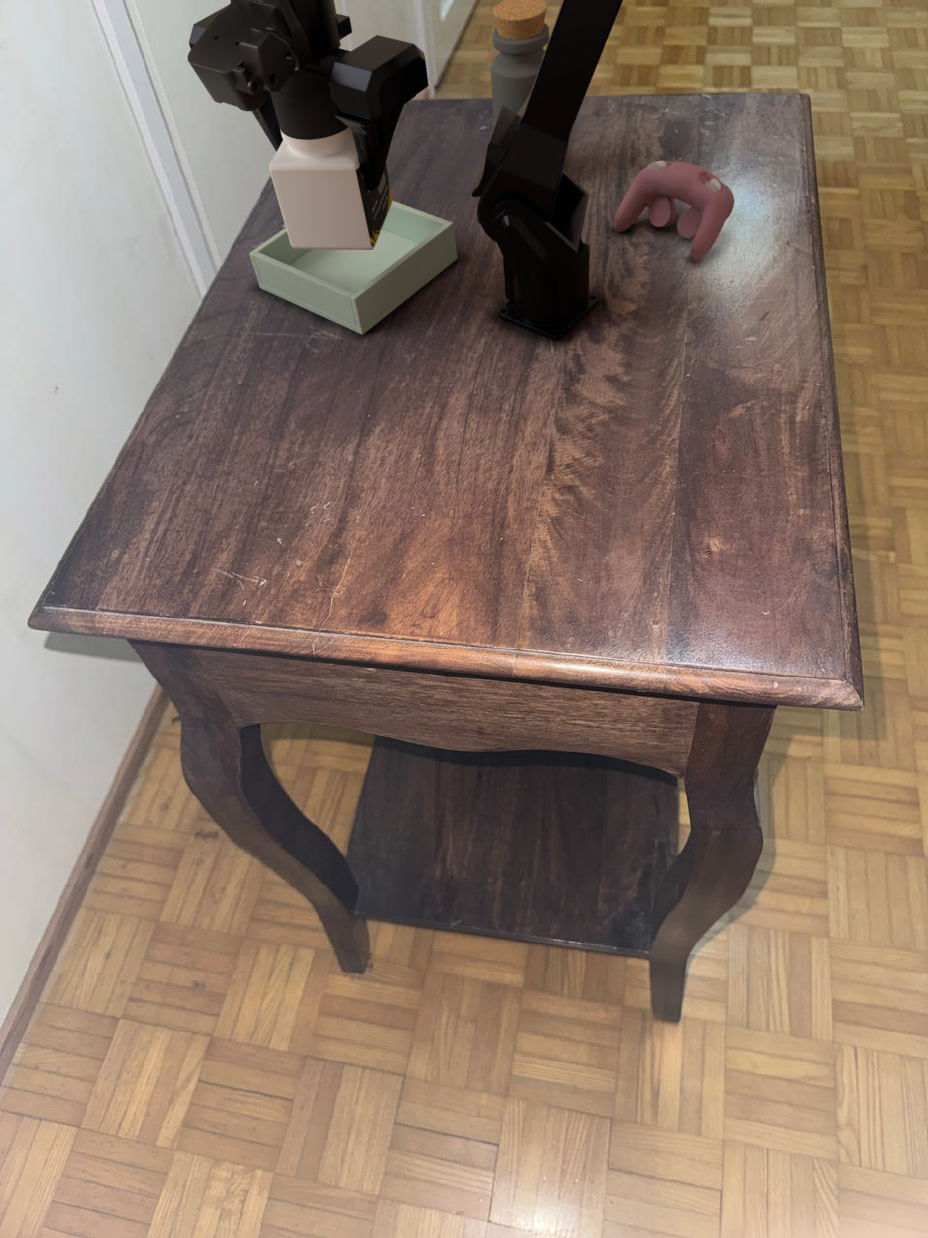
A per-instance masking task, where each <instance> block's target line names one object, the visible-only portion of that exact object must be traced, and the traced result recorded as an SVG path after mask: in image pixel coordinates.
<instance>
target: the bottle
mask: <svg viewBox="0 0 928 1238" xmlns="http://www.w3.org/2000/svg"><path fill="white" fill-rule="evenodd" d="M492 14H493V18H494V22H495V26H496V27H495V28H494V30H493V32H492V33H491V35H492V46H493V47H494V49H495V50H496V51H498V52H499V53H498V54H497V55H496V56H495V57H494V58H493V60H492V61H491V63H490V83H491V84H490V85H491V99H492V113H493V117H492V118H493V126H494V125H495V122H496V119H497V116H498V113H499V110H500V107H501V106H505V107H506V108H508V109H509V110H511V111H513V112H514V113H516V114H517V113H518V112H519V110H520V109H521V107H522V106H523V104H524V103H525V101H526V100H527V98H528V96H529V94H530V92H531V90H532V87H533V84H534V81H535V78H536V75H537V73H538V70H539V67H540V64H541V61H542V58H543V55H544V52H545V49H544V47H545V46H547V44H548V41H549V38H550V28H549V25H548V24H547V23H545V22H546V21H545V20H546V19H545V18H546V16H547V15H546V14H547V4H546V2H545V1H544V0H503V1H501V2H499V3H498V4H496V5H495V6H494V7H493V10H492Z"/></svg>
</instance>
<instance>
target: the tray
mask: <svg viewBox="0 0 928 1238" xmlns="http://www.w3.org/2000/svg"><path fill="white" fill-rule="evenodd" d="M457 251H458V250H457V241H456V233H455V223H454V222H453V221H450V220H447V219H444V218H441V217H439V216H437V215H433V214H431V213H429V212H425V211H422V210H420V209H416V208H415V207H412V206H408V205H406V204H403V203H400V202H398V201H395V200H393V201H392V205H391V207H390V210H389V212H388V215H387V217H386V220H385V222H384V225H383V227H382V230H381V232H380V235H379V237H378V240H377V242H376V245H375V247H374V248H373V249H372V250H332V249H294V248H292V246H291V243H290V240H289V236H288V233H287V229H286V227H285V228H283V229H282V230H280V231H279V232H277V233H276V234H274V235H273V236H271V237H270V238H268V239H267V240H265V241H264V242H263V243H262V244H260V245H258V247H256V248H254V249H253V250H251V251H250V252H249V253H248V254H249V257H250V261H251V264H252V268H253V271H254V273H255V274H254V275H255V277H256V280H257V282H258V283H257V284H258V287H259V289H261V290H264V291H266V292H268V293H270V294H272V295H274V296H277V297H278V298H281V299H283V300H285V301H287V302H290V303H292V304H294V305H296V306H298V307H301V308H303V309H305V310H307V311H310V312H312V313H313V314H316V315H318V316H321V317H322V318H324V319H327V320H329V321H331V322H333V323H336V324H338V325H339V326H342V327H345V328H346V329H349V330H351V331H353V332H355V333H357V334H360V335H361V336H362V335H364V334H366V333H367V332H368V331H369V330H371V329H372V328H373V327H374V326H376V325H377V324H378V323H379V322H381V321H382V320H383V319H384V318H386V317H387V316H388V315H389V314H391V313H392V312H393V311H394V310H396V309H397V308H398V307H399V306H400V305H402V304H403V303H404V302H405V301H407V300H408V299H409V298H411V297H412V296H413V295H414V294H416V293H417V292H418V291H419V290H420V289H422V288H423V287H424V286H425V285H427V284H428V283H429V282H430V281H432V280H433V279H434V278H435V277H437V276H438V275H439V274H441V273H442V272H443V271H444V270H445V269H447V268H448V267H449V266H450V265H452V264H453V263H454V262H455V261H457V260H458V253H457Z"/></svg>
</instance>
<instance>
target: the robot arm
mask: <svg viewBox="0 0 928 1238" xmlns="http://www.w3.org/2000/svg"><path fill="white" fill-rule="evenodd" d="M623 1H624V0H561V3H560V5H559V9H558V12H557V15H556V17H555V21H554V24H553V27H552V30H551V32H550V34H549V41H548V43H547V44H546V45H545V46H546V47H545V49H544V50H545V52H544V55H543V58H542V61H541V64H540V67H539V70H538V73H537V75H536V78H535V81H534V84H533V87H532V90H531V92H530V94H529V96H528V98H527V100H526V101H525V103H524V104H523V106H522V107H521V109H520V110H519V112H518V113H517V114H516V113H514V112H513V111H511V110H509V109H508V108H506V107H505V106H501V107H500V110H499V113H498V116H497V119H496V122H495V125H494V124H493V128H492V132H491V134H490V138H489V140H488V144H487V148H486V149H485V152H484V155H483V158H482V161H481V163H480V167H479V170H478V173H477V177H476V179H475V182H474V185H473V188H472V191H471V194H470V195H471V197H472V198H479V199H478V202H477V206H476V207H477V208H476V218H477V223H478V224H479V225H480V226H481V228H482V230H483V232H484V233H485V234H486V235H487V237H488V238H490V240H491V241H493V242H495V243H496V244H497V246H498V249H499V251H500V253H501V255H502V263H503V264H502V265H503V279H504V280H503V281H504V282H503V283H504V296H505V299H506V300H508V301H507V302H506V303H505V304H503V305H502V306H501V307H500V308H499V309H498V310H497V317H498V319H501V320H503V321H505V322H508V323H511V324H513V325H516V326H518V327H520V328H522V329H525V330H528V331H530V332H532V333H534V334H537V335H539V336H542V337H545V338H546V339H549V340H552V341H559V340H561V339H562V338H563V337H564V336H565V335H567V334H568V332H570V331H571V330H572V329H573V328H574V327H575V326H576V325H577V324H578V323H580V322H581V321H582V319H584V318H585V317H586V316H587V315H588V314H589V313H590V312H592V310H594V309H595V308H596V307H597V306H598V305H599V303H600V296H599V295H597V294H595V293H592V292H590V258H591V257H590V256H591V255H590V254H591V245H590V244H587V243H585V242H583V238H582V232H583V229H584V223H585V218H586V212H587V207H588V204H589V203H588V202H589V198H590V194H589V192H588V191H586V189H584V188H583V186H581V184H580V183H579V182H578V181H576V179H574V178H573V177H572V176H571V175H570V174H569V173H568V172H567V171H566V170H565V164H566V159H567V153H568V149H569V144H570V140H571V135H572V130H573V127H574V126H575V123H576V120H577V117H578V115H579V112H580V110H581V107H582V105H583V102H584V100H585V98H586V97H585V96H586V95H587V93H588V90H589V87H590V84H591V82H592V80H593V77H594V74H595V72H596V69H597V67H598V65H599V62H600V60H601V57H602V55H603V52H604V49H605V47H606V45H607V42H608V39H609V37H610V34H611V32H612V29H613V27H614V24H615V22H616V19H617V17H618V14H619V11H620V9H621V7H622V4H623ZM352 27H353V26H352V22H351V16H349V15H344V14H340V13H337V10H336V4H335V0H230V3H229V4H227V5H226V6H224V7H222V8H220V9H219V10H217V11H215V12H213V13H211V14H210V15H208V16H206V17H204V18H202V19H201V20H199V21H196V22H195V23H193V24H192V27H191V28H192V29H191V31H190V36H189V39H188V44H189V49H190V50H189V52H188V54H187V62H188V64H189V65H190V67H191V68H192V70H193V71H194V73H195V74H196V76H197V77H198V79H199V80H200V82H201V83H202V85H203V86H204V88H205V89H206V91H207V92H208V94H209V95H210V97H211V98H212V100H213V102H215V103H217V104H223V103H224V104H227V105H230V106H233V107H235V108H238V109H239V110H240V111H243V112H251V113H252V115H253V116H254V118H255V120H256V121H257V122H258V124H259V126H260V128H261V129H262V131H263V133H264V134H265V136H266V138H267V139H268V141H269V143H270V144H271V146H272V148H273V149H274V151H275V153H276V152H277V151H278V149H279V147H280V145H281V143H282V141H283V138H282V134H281V130H280V127H279V123H278V119H277V115H276V112H275V108H274V104H273V101H272V97H271V92H273V93H278V92H279V91H280V90H281V89H282V87H283V86H284V85H285V83H286V82H287V80H288V79H289V78H290V76H291V75H292V74H293V72H294V71H295V70H300V71H304V72H308V73H311V74H315V75H319V76H322V77H326V78H329V85H330V90H331V95H332V98H333V100H334V101H335V102H336V104H337V105H338V106H339V108H340V109H341V110H340V111H339V112H337V113H336V114H335V117H336V118H337V119H339V120H340V121H341V122H343V123H344V124H346V125H347V126H348V127H350V129H351V131H352V135H353V139H354V143H355V147H356V151H357V156H358V160H359V164H360V168H361V172H362V176H363V179H364V182H365V184H366V187H367V190H369V191H374V190H375V189H376V188H378V187H379V185H380V183H381V179H382V175H383V171H384V168H385V164H386V165H387V160H388V156H389V153H390V149H391V145H392V141H393V138H394V134H395V131H396V128H397V125H398V122H399V119H400V117H401V115H402V111H403V109H404V106H405V105H406V104H407V103H409V102H410V101H412V100H413V99H414V98H416V97H417V95H418V94H419V93H421V92H422V91H424V90H425V89H427V88H428V87H429V86H430V85H429V77H428V68H427V61H426V55H425V52H424V51H423V50H421V49H420V48H419V47H418V46H417V45H416V44H415V43H412V42H409V41H404V40H400V39H396V38H393V37H392V38H391V37H387V36H384V35H379V34H375V35H374V36H373V37H371V38H369V39H368V40H366V41H365V42H363V43H362V44H360V45H359V46H357V47H355V48H354V49H352V50H348V49H344V48H341V46H342V43H341V40H343V39H344V38H345V37H347V36H349V35H351V34H352V33H353V28H352Z"/></svg>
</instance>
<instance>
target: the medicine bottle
mask: <svg viewBox="0 0 928 1238" xmlns="http://www.w3.org/2000/svg"><path fill="white" fill-rule="evenodd" d="M271 97H272V101H273V104H274V108H275V112H276V115H277V119H278V123H279V127H280V130H281V134H282V138H283V141H282V143H281V145H280V147H279V149H278V151H277V152H276V151H275V154H274V155H273V158H272V159H271V161H270V163H269V165H268V170H269V174H270V177H271V182H272V185H273V187H274V191H275V194H276V198H277V202H278V205H279V208H280V212H281V216H282V219H283V222H284V226H285V228H286V229H287V233H288V236H289V240H290V243H291V246H292V248H294V249H332V250H372V249H373V248H374V247H375V245H376V242H377V240H378V237H379V235H380V232H381V230H382V227H383V225H384V222H385V220H386V217H387V215H388V212H389V210H390V207H391V205H392V201H394V200H393V193H392V188H391V184H390V177H389V172H388V166H387V163H386V164H385V168H384V171H383V175H382V179H381V183H380V185H379V187H378V188H376V189H375V190H374V191H369V190H367V187H366V184H365V182H364V179H363V176H362V172H361V168H360V164H359V160H358V156H357V151H356V147H355V143H354V139H353V135H352V131H351V129H350V127H348V126H347V125H346V124H344V123H343V122H341V121H340V120H339V119H337V118H336V117H335V114H336V113H337V112H339V111H340V110H341V109H340V108H339V106H338V105H337V104H336V102H335V101H334V100H333V98H332V95H331V90H330V85H329V78H326V77H322V76H319V75H315V74H311V73H308V72H304V71H300V70H295V71H294V72H293V74H292V75H291V76H290V78H289V79H288V80H287V82H286V83H285V85H284V86H283V87H282V89H281V90H280V91H279V92H278V93H273V92H271Z"/></svg>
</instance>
